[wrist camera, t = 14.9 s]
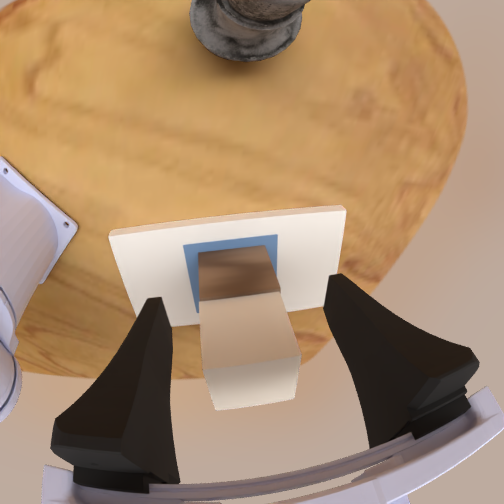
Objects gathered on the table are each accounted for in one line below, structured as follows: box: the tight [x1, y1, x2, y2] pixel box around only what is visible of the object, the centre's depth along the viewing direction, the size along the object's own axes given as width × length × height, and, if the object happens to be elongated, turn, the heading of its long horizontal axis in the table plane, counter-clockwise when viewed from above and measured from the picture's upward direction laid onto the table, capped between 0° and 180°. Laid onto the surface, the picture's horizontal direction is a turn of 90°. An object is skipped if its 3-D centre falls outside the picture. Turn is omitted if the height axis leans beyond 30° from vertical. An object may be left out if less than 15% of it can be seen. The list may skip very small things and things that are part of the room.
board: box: [108, 205, 347, 327], centre depth 24 cm, size 18×10×1 cm, turn 92°
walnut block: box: [198, 245, 281, 302], centre depth 21 cm, size 5×5×5 cm
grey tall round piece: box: [189, 0, 310, 62], centre depth 9 cm, size 6×6×12 cm
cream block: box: [199, 291, 302, 411], centre depth 17 cm, size 5×5×5 cm
